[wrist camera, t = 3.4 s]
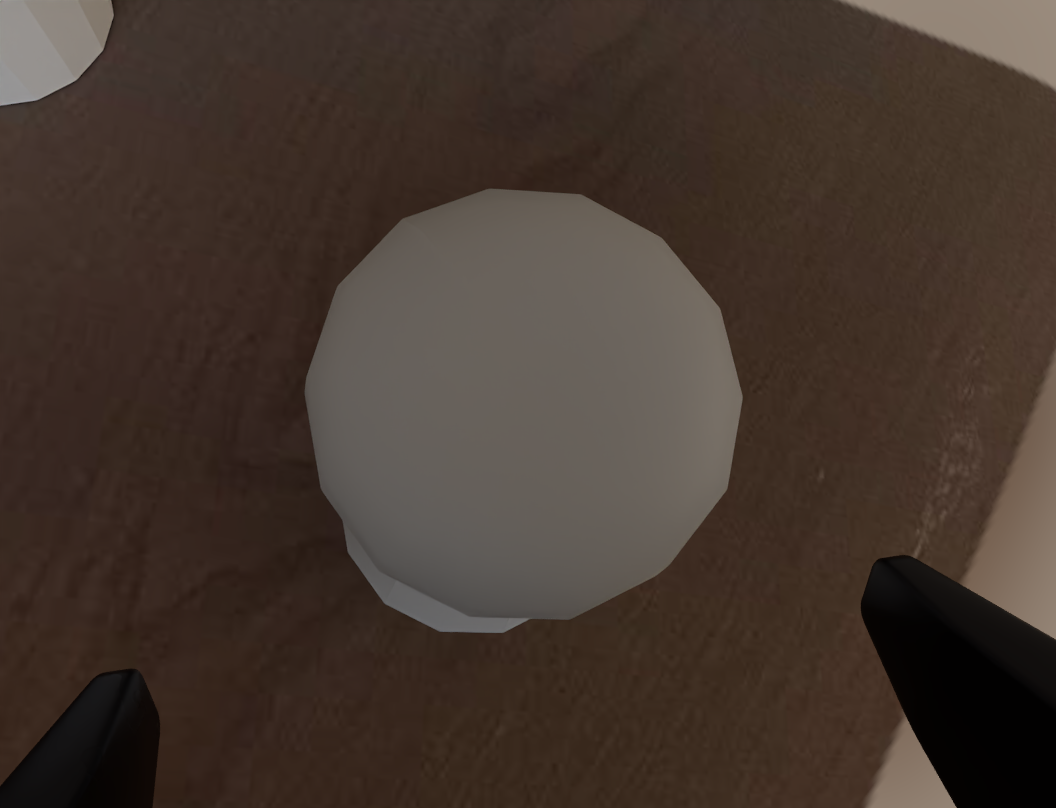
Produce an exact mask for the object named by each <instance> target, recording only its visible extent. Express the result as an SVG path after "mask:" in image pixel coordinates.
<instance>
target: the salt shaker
mask: <svg viewBox="0 0 1056 808" xmlns="http://www.w3.org/2000/svg"><path fill="white" fill-rule="evenodd" d="M305 399H306V405H307V410H308V416H309V422H310V428H311V434H312V440H313V446H314V451H315V457H316V463H317V469H318V475H319V481H320V486H321V490H322V492H323V493H324V494H325V496H326V497H327V499H328V500H329V501H330V503H331V504H332V506H333V507H334V509H335V510H336V511H337V513H338V514H339V516H340V517H341V518H342V520H343V526H344V532H345V538H346V544H347V550H348V553H349V555H350V556H351V557H352V559H353V560H354V562H355V563H356V564H357V566H358V567H359V569H360V570H361V571H362V573H363V574H364V576H365V577H366V578H367V580H368V581H369V583H370V584H371V585H372V587H373V588H374V590H375V591H376V592H377V594H378V595H379V597H380V598H381V599H382V601H383V602H384V604H386V605H388V606H390V607H392V608H394V609H396V610H398V611H400V612H402V613H404V614H406V615H408V616H410V617H412V618H414V619H416V620H418V621H420V622H422V623H424V624H426V625H428V626H430V627H432V628H434V629H436V630H438V631H440V632H484V633H504V632H505V631H507V630H509V629H511V628H513V627H515V626H517V625H519V624H521V623H523V622H525V621H527V620H529V619H569V620H570V619H572V618H574V617H576V616H578V615H580V614H582V613H584V612H586V611H588V610H590V609H592V608H594V607H596V606H598V605H600V604H602V603H603V602H605V601H607V600H609V599H611V598H613V597H615V596H617V595H619V594H621V593H623V592H625V591H627V590H629V589H631V588H633V587H635V586H637V585H639V584H641V583H643V582H645V581H647V580H649V579H651V578H653V577H654V576H656V575H658V574H659V573H660V572H661V571H663V570H664V569H665V568H666V567H668V566H669V565H670V563H671V562H672V561H673V559H674V558H675V557H676V556H677V554H678V553H679V552H680V550H681V549H682V548H683V546H684V545H685V544H686V542H687V541H688V540H689V539H690V537H691V536H692V535H693V533H694V532H695V531H696V529H697V528H698V527H699V525H700V524H701V523H702V522H703V520H704V519H705V518H706V516H707V515H708V514H709V512H710V511H711V510H712V509H713V507H714V506H715V505H716V503H717V502H718V501H719V499H720V498H721V497H722V495H723V494H724V493H725V492H726V490H727V487H728V482H729V476H730V470H731V464H732V458H733V452H734V446H735V440H736V434H737V428H738V422H739V417H740V411H741V405H742V399H743V396H742V393H741V389H740V385H739V381H738V377H737V373H736V369H735V365H734V361H733V357H732V353H731V349H730V346H729V342H728V338H727V334H726V330H725V326H724V322H723V318H722V314H721V310H720V308H719V307H718V305H717V304H716V303H715V302H714V301H713V299H712V298H711V297H710V296H709V294H708V293H707V292H706V291H705V290H704V288H703V287H702V286H701V285H700V284H699V282H698V281H697V280H696V279H695V278H694V276H693V275H692V274H691V273H690V272H689V270H688V269H687V268H686V267H685V266H684V264H683V263H682V262H681V261H680V259H679V258H678V257H677V256H676V255H675V253H674V252H673V251H672V250H671V249H670V247H669V246H668V245H667V244H666V243H665V241H664V240H663V239H662V238H661V237H659V236H657V235H655V234H654V233H652V232H650V231H648V230H646V229H644V228H642V227H641V226H639V225H637V224H635V223H633V222H631V221H629V220H627V219H626V218H624V217H622V216H620V215H618V214H616V213H614V212H613V211H611V210H609V209H607V208H605V207H603V206H601V205H600V204H598V203H596V202H594V201H592V200H590V199H588V198H587V197H585V196H583V195H581V194H566V193H551V192H535V191H520V190H504V189H487V190H484V191H481V192H478V193H475V194H472V195H470V196H467V197H464V198H461V199H458V200H455V201H452V202H449V203H447V204H444V205H441V206H438V207H435V208H432V209H429V210H427V211H424V212H421V213H418V214H415V215H412V216H409V217H407V218H404V219H402V220H401V221H400V222H399V223H398V224H397V225H396V226H395V227H394V228H393V229H392V230H391V231H390V232H389V233H388V234H387V235H386V236H385V237H384V238H383V239H382V240H381V242H380V243H379V244H378V245H377V246H376V247H375V248H374V249H373V250H372V251H371V252H370V253H369V254H368V255H367V256H366V257H365V258H364V259H363V260H362V261H361V262H360V263H359V264H358V265H357V266H356V267H355V269H354V270H353V271H352V272H351V273H350V274H349V275H348V276H347V277H346V278H345V279H344V280H343V281H342V282H341V283H340V284H339V285H338V286H337V289H336V292H335V295H334V298H333V301H332V303H331V306H330V309H329V312H328V315H327V318H326V321H325V324H324V327H323V330H322V333H321V336H320V339H319V342H318V345H317V348H316V351H315V354H314V356H313V359H312V362H311V365H310V368H309V371H308V374H307V377H306V385H305Z"/></svg>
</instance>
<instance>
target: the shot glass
mask: <svg viewBox="0 0 1056 808" xmlns="http://www.w3.org/2000/svg"><path fill="white" fill-rule="evenodd" d="M113 17H114V13H113V8H112V2H111V0H0V106H1V105H8V104H15V103H22V102H29V101H36V100H39V99H41V98H43V97H45V96H47V95H49V94H51V93H53V92H54V91H56V90H58V89H60V88H62V87H64V86H66V85H68V84H70V83H72V82H74V81H76V80H77V79H78V78H79V77H80V76H81V75H82V73H83V72H84V71H85V70H86V69H87V68H88V67H89V66H90V64H91V63H92V62H93V61H94V60H95V59H96V58H97V57H98V56H99V54H100V53H101V52H102V51H103V49H104V46H105V43H106V39H107V36H108V33H109V30H110V26H111V23H112V20H113Z"/></svg>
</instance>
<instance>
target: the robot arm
mask: <svg viewBox="0 0 1056 808" xmlns="http://www.w3.org/2000/svg"><path fill="white" fill-rule="evenodd" d="M861 614H862V618H863V621H864V623H865V626H866V628H867V630H868V632H869V635H870V637H871V639H872V641H873V644H874V646H875V648H876V650H877V653H878V655H879V657H880V659H881V662H882V664H883V666H884V668H885V671H886V673H887V675H888V677H889V679H890V682H891V684H892V686H893V688H894V691H895V693H896V695H897V697H898V700H899V702H900V704H901V706H902V709H903V711H904V713H905V715H906V717H907V719H908V721H909V723H910V725H911V727H912V730H913V731H914V733H915V735H916V737H917V739H918V740H919V742H920V744H921V746H922V748H923V750H924V751H925V753H926V755H927V757H928V758H929V760H930V762H931V764H932V765H933V767H934V769H935V770H936V772H937V774H938V776H939V778H940V779H941V781H942V783H943V785H944V786H945V788H946V790H947V792H948V793H949V795H950V797H951V798H952V800H953V802H954V804H955V806H956V807H957V808H1056V639H1054V638H1052V637H1050V636H1049V635H1047V634H1045V633H1043V632H1042V631H1040V630H1038V629H1037V628H1034V627H1033V626H1031V625H1030V624H1028V623H1026V622H1024V621H1023V620H1021V619H1019V618H1017V617H1016V616H1014V615H1012V614H1011V613H1009V612H1007V611H1005V610H1004V609H1002V608H1000V607H999V606H997V605H995V604H993V603H992V602H990V601H988V600H986V599H985V598H983V597H981V596H979V595H978V594H976V593H974V592H972V591H971V590H969V589H967V588H966V587H964V586H962V585H960V584H959V583H957V582H955V581H954V580H952V579H950V578H948V577H947V576H945V575H943V574H941V573H940V572H938V571H936V570H934V569H933V568H931V567H929V566H928V565H926V564H924V563H922V562H921V561H919V560H917V559H915V558H913V557H911V556H908V555H899V556H892V557H886V558H880V559H878V560H877V561H876V562H875V563H874V564H873V566H872V569H871V572H870V575H869V578H868V582H867V585H866V588H865V591H864V594H863V597H862V600H861ZM159 737H160V720H159V715H158V711H157V709H156V706H155V704H154V702H153V699H152V697H151V695H150V692H149V690H148V688H147V685H146V683H145V681H144V678H143V676H142V675H141V673H140V672H139V671H138V670H136V669H124V670H118V671H111V672H105V673H101V674H99V675H97V676H96V677H95V678H93V679H92V680H91V681H90V683H89V684H88V685H87V686H86V687H85V688H84V690H83V691H82V692H81V693H80V694H79V695H78V697H77V698H76V699H75V700H74V701H73V702H72V703H71V705H70V706H69V707H68V708H67V709H66V710H65V712H64V713H63V714H62V715H61V716H60V717H59V719H58V720H57V721H56V722H55V723H54V724H53V726H52V727H51V728H50V729H49V730H48V731H47V733H46V734H45V735H44V736H43V737H42V738H41V739H40V741H39V742H38V743H37V744H36V745H35V746H34V748H33V749H32V750H31V751H30V752H29V753H28V755H27V756H26V757H25V758H24V759H23V760H22V762H21V763H20V764H19V765H18V766H17V767H16V768H15V770H14V771H13V772H12V773H11V774H10V775H9V777H8V778H7V779H6V780H5V781H4V782H3V784H2V785H1V786H0V808H152V807H153V797H154V787H155V777H156V767H157V757H158V747H159Z"/></svg>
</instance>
